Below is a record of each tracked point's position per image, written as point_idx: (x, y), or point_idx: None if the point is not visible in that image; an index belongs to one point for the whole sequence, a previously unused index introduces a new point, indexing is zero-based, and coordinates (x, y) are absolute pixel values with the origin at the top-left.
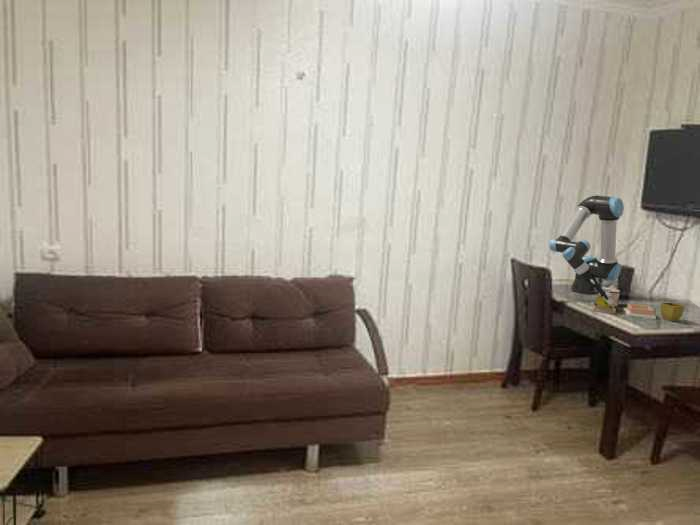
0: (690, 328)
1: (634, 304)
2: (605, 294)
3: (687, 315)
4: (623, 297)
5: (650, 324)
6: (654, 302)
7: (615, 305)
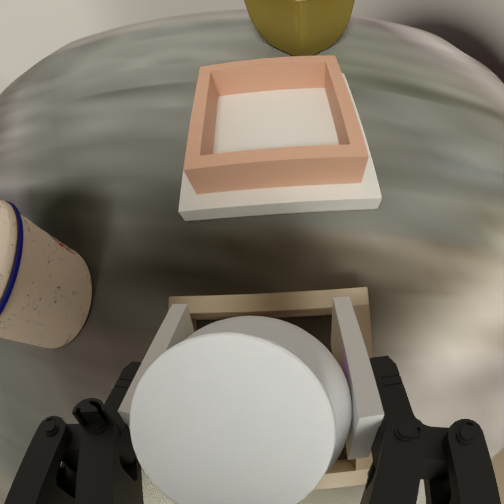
0: (396, 28)
1: (193, 127)
2: (378, 418)
3: (167, 25)
4: None
5: (476, 128)
6: (8, 119)
7: (85, 265)
